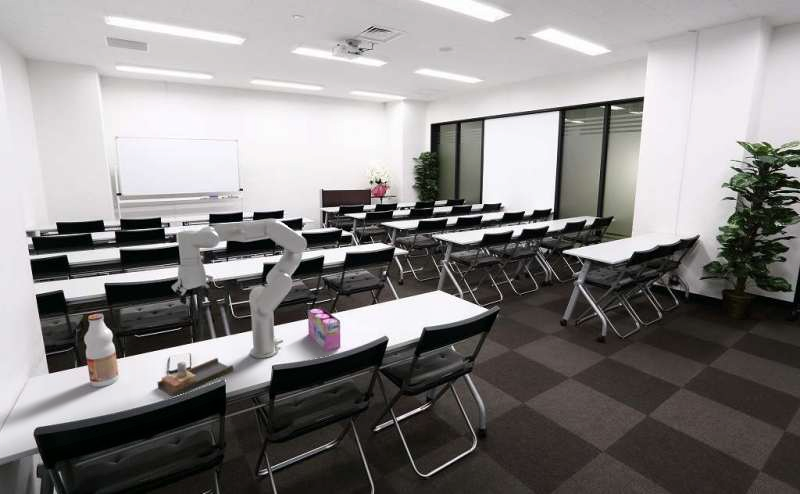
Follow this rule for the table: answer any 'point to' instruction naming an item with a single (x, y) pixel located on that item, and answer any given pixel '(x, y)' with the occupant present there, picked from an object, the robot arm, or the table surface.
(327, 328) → the pink multipack carton
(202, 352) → the table surface
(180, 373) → the oak slider
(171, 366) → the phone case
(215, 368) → the slide track
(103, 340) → the fruit juice
